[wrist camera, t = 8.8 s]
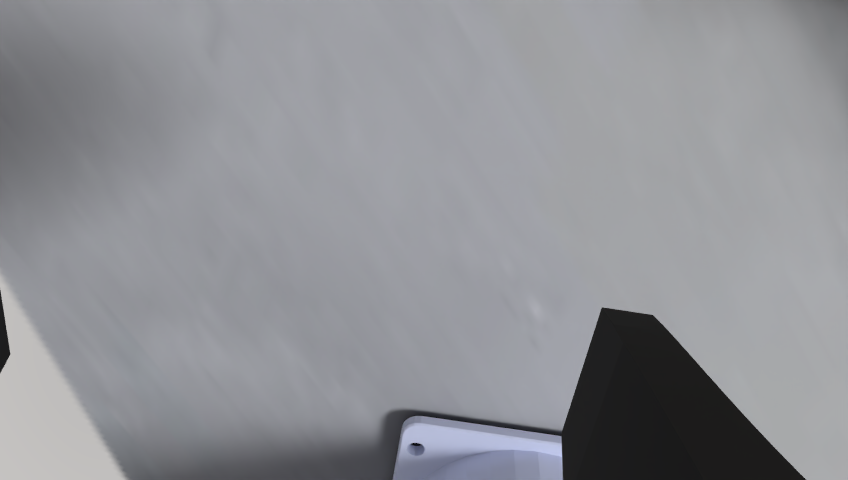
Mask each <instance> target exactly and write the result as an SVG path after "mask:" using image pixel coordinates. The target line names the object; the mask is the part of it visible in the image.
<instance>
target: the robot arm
mask: <svg viewBox="0 0 848 480" xmlns="http://www.w3.org/2000/svg"><path fill="white" fill-rule="evenodd" d="M9 356H10V350H9V343H8V337H7V330H6V325H5V317H4V311H3V305H2V299H1V292H0V372H1V371H2V369H3V367H4V365H5V363H6V361H7V359H8V358H9ZM411 443H419V444H422V445H421V446H414V445H411ZM393 480H806V479H805V478H804V477H803V476H802V475H801V474H800V473H799V472H798V471H797V470H796V469H795V468H794V467H793V466H792V465H791V464H790V463H789V462H788V461H787V460H786V459H785V458H784V457H783V456H782V455H781V454H780V453H779V452H778V451H777V450H776V449H775V448H774V447H773V446H772V445H771V444H770V442H769V441H768V440H767V439H766V438H765V437H764V436H763V435H762V434H761V433H760V432H759V431H758V430H757V429H756V428H755V427H754V425H753V424H752V423H751V422H750V421H749V420H748V419H747V418H746V417H745V416H744V415H743V414H742V413H741V411H740V410H739V409H738V408H737V407H736V406H735V405H734V404H733V403H732V402H731V400H730V399H729V398H728V397H727V396H726V395H725V394H724V393H723V392H722V391H721V389H720V388H719V387H718V386H717V385H716V384H715V383H714V382H713V380H712V379H711V378H710V377H709V376H708V375H707V374H706V373H705V371H704V370H703V369H702V368H701V367H700V366H699V365H698V364H697V362H696V361H695V360H694V359H693V358H692V357H691V356H690V355H689V353H688V352H687V351H686V350H685V349H684V348H683V347H682V346H681V345H680V343H679V342H678V341H677V340H676V339H675V338H674V337H673V336H672V335H671V333H670V332H669V331H668V330H667V329H666V328H665V327H664V326H663V325H662V324H661V323H660V322H659V321H658V320H657V319H656V318H655V317H654V316H653V315H649V314H642V313H635V312H629V311H622V310H615V309H609V308H602V309H601V312H600V315H599V318H598V321H597V325H596V328H595V331H594V334H593V337H592V340H591V343H590V346H589V350H588V353H587V356H586V359H585V362H584V365H583V368H582V371H581V374H580V378H579V381H578V384H577V387H576V390H575V393H574V396H573V399H572V402H571V406H570V409H569V412H568V415H567V418H566V421H565V424H564V427H563V430H562V434H561V436H557V435H550V434H543V433H536V432H529V431H522V430H515V429H508V428H501V427H494V426H488V425H481V424H474V423H467V422H460V421H453V420H446V419H439V418H432V417H425V416H413V417H410V418H408V419H407V420H406V421H404V423H403V425H402V430H401V435H400V441H399V447H398V452H397V458H396V463H395V469H394V474H393Z"/></svg>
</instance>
